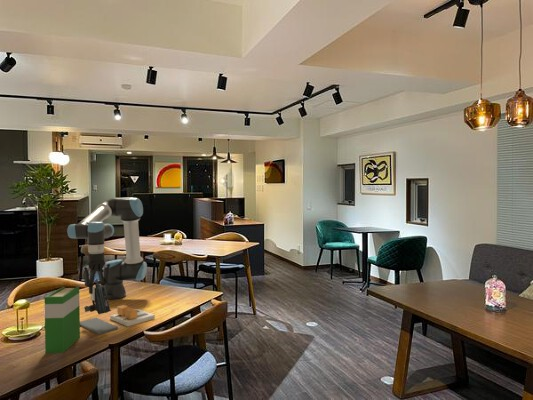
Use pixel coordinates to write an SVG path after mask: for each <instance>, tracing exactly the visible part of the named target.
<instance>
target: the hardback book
mask: <svg viewBox="0 0 533 400" xmlns="http://www.w3.org/2000/svg"><path fill="white" fill-rule="evenodd" d="M80 311H81V310H80V286H79V285H78V286H76V287H74V288H72V287H70V288H69V287H67V288H66V287H65V286H61V287H60V288H58V289H57V290H54V291H52V292H51V293H49V294H48V295H45V296H44V336H45V337H44V343H45V344H44V345H45V346H44V347H45V351H44V352H45V354H63V353H65V352H66V351H67V350H68V349H69V348H71V346H73V344H74V343H76V341H78V340H79V339H80V337H81V328H80V327H81V326H80V322H81V320H80V317H81V315H80V314H81V313H80Z"/></svg>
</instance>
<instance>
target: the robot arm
mask: <svg viewBox="0 0 533 400" xmlns="http://www.w3.org/2000/svg"><path fill="white" fill-rule="evenodd" d="M143 205H144V204H143V202H142V201H141V200H140V198H138V197H112V198H109V199H107V200H104V201H102V202H100V203H99V204H98V205H97V206H96V207H95V209H94V210H93V211H92V212H90V214H88V215H87V216H85V217H84V218H83V219H82V220H81V221H79V222H78V223H73V224H71V223H70V224H69V225H68V227H67V229H66V231H67V237H68V238H70V239H76V240H77V239H87V252H88V254H87V261H88V262H87V265H85V266H82V269H81V270H82V271H83V276H84V277H83V279H84V280H83V281H84V286H85V287H88V293H89V294H90V300H91V301H92V300H95V288H96V286H94V282H95V277H96V273H97V274H98V275H97V276H98V278H99V279H98V282H99V284H100V286H104V285H105V290H106V294H107V297H108V300H116V299H117V300H119V299H122V298H124V297H126V296H127V291H126V288H125V286H124V281H136V282H137V281H143V279H144V278H145V277H146V275H147V270H148V269H147V268H148V264H147V262H146V261H144V258H143V257H142V256H141V247H140V246H141V245H140V244H141V243H140V230H139V221H140V220H141V217H142V216H143V214H144V207H143ZM111 217H120V221H121V222H122V223H123V232H124V242H125V243H124V245H125V259H124V260H123V259H113V260H109V261H106V262H105V239H109V238H110V237H112V236H113V235H114V234H115V228H114V225H112V224H110V223H104V222H103V221H104V220H106V219H109V218H111ZM89 273H90V274H89Z"/></svg>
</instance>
